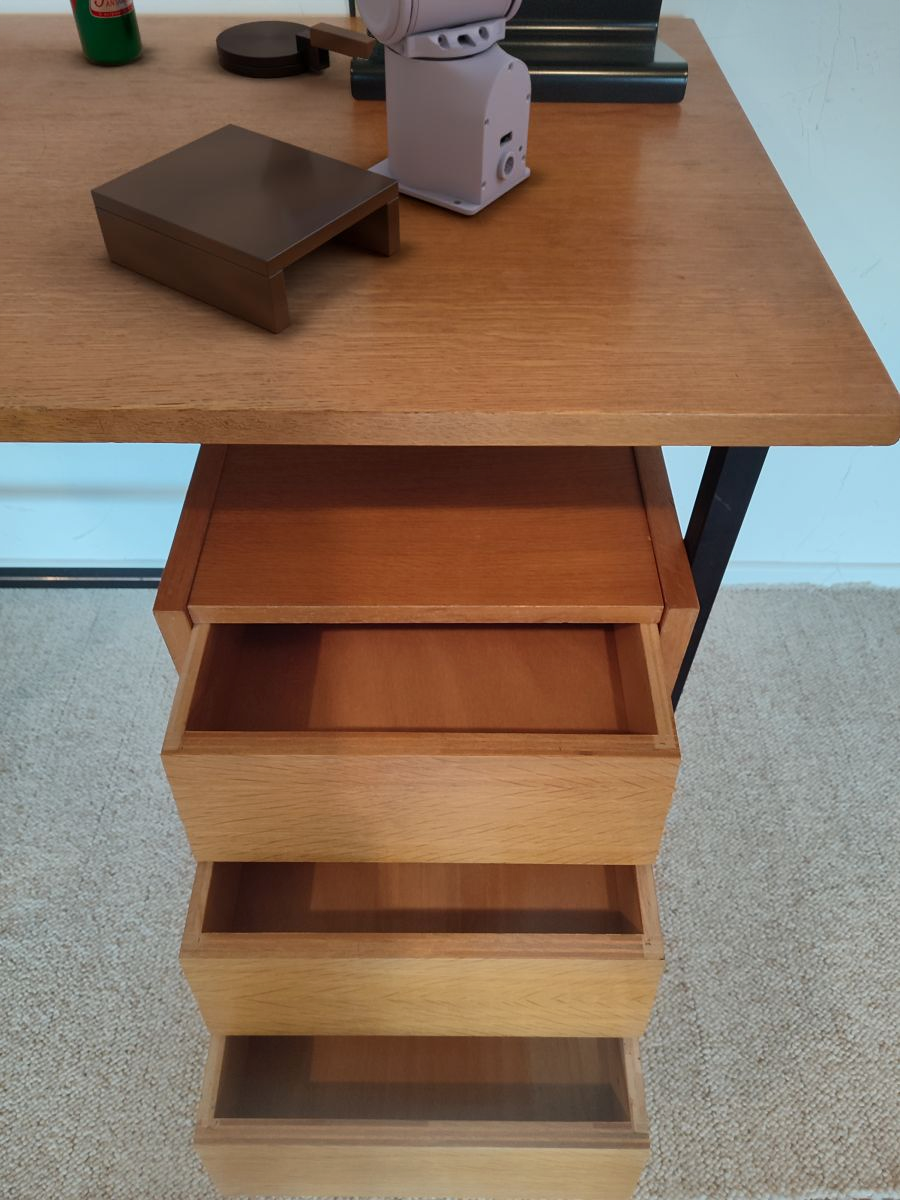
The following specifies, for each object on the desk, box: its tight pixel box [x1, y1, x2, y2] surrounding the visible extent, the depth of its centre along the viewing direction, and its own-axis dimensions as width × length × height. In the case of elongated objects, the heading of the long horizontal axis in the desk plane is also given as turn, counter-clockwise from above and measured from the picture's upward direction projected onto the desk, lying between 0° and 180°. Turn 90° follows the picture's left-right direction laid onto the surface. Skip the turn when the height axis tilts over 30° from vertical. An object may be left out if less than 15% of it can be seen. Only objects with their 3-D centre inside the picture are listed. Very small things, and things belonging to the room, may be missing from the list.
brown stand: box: [90, 123, 401, 334], centre depth 57 cm, size 14×12×4 cm
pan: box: [215, 20, 377, 79], centre depth 79 cm, size 16×9×4 cm, turn 55°
